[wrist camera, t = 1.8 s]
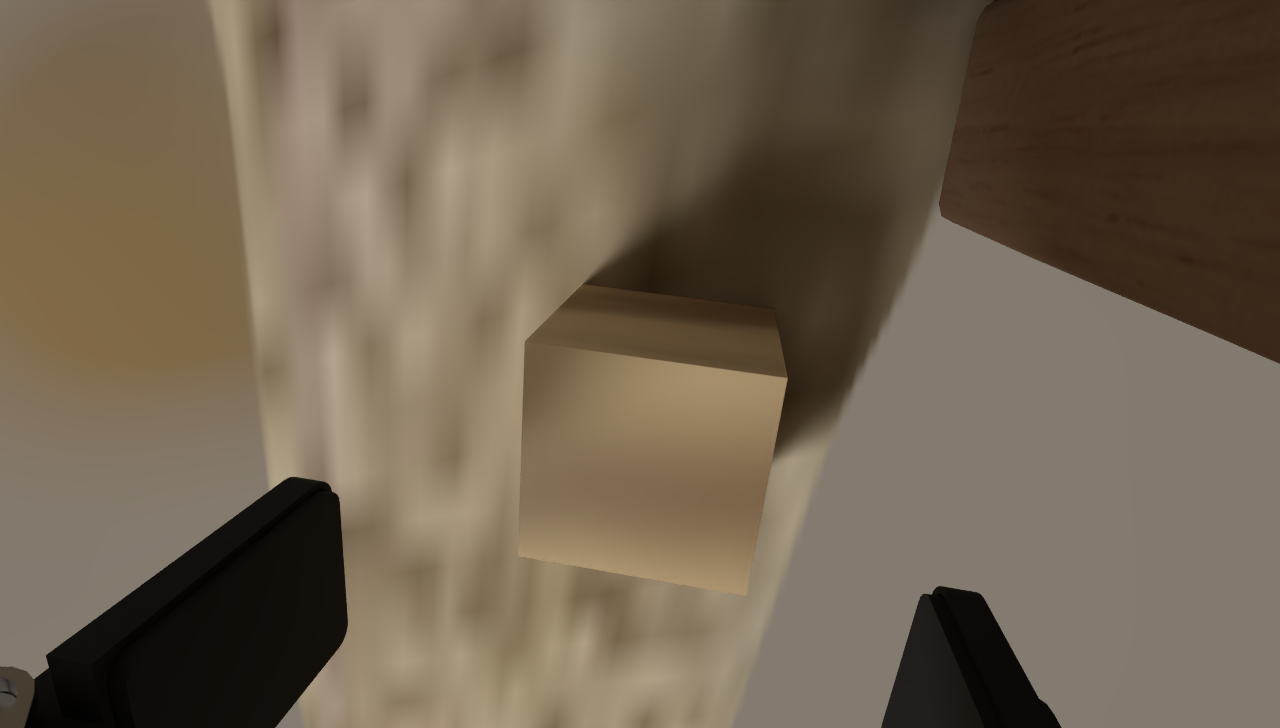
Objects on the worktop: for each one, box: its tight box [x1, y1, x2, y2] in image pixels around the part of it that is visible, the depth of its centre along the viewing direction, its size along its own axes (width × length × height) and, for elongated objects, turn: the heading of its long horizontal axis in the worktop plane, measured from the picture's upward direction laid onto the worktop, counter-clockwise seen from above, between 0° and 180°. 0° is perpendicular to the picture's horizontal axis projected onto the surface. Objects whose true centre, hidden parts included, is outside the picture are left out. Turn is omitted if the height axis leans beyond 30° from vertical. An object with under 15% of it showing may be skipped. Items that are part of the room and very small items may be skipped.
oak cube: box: [518, 284, 788, 596], centre depth 15 cm, size 5×5×5 cm
